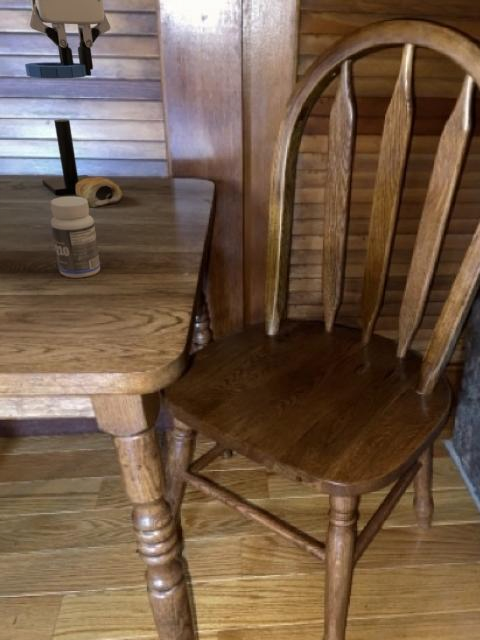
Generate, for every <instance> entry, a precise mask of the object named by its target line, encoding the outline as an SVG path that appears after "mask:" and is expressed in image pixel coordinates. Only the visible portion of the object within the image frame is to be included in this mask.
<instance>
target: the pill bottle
mask: <svg viewBox="0 0 480 640" xmlns="http://www.w3.org/2000/svg"><path fill="white" fill-rule="evenodd" d="M50 212H51V215H52V216H53V217H52V218H51V220H50V229H51V232H52V238H53V245H54V251H55V256H56V261H57V267H58V271H59V273H60V274H61V275H62V276H64V277H66V278H71V279H72V278H73V279H79V278H86V277H91V276H94V275H96V274H97V273H99V272H100V270H101V263H100V256H99V255H100V254H99V249H98V248H99V247H98V242H97V241H98V240H97V235H96V233H97V232H96V227H95V220H94V218H93V217H92V216H91V215H90V206H88V201H87V199H85V198H82V197H78V196H69V195H68V196H60V197H59V196H58V197H56V198H53V199H52V200H50Z"/></svg>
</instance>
